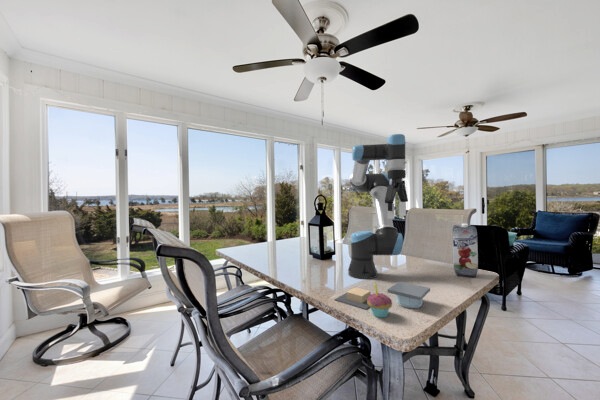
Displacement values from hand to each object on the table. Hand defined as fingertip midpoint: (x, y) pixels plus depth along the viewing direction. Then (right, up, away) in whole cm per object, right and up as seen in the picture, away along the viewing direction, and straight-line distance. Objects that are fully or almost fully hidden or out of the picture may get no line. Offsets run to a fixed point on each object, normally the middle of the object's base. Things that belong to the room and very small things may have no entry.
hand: (397, 217), depth 113 cm
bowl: (-1, -33, -15) cm, 36 cm away
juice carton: (+43, -32, +18) cm, 56 cm away
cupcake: (-15, -33, -24) cm, 43 cm away
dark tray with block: (-20, -33, -10) cm, 40 cm away
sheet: (-1, -28, -15) cm, 32 cm away
